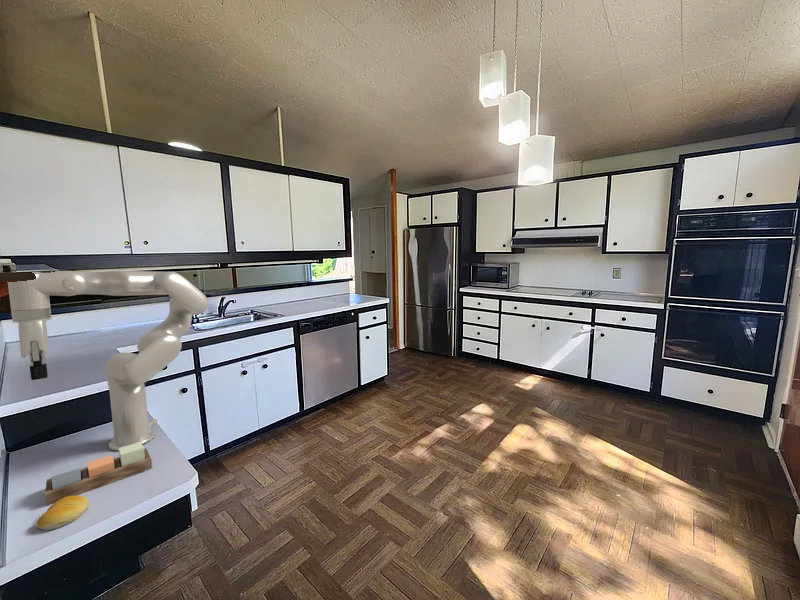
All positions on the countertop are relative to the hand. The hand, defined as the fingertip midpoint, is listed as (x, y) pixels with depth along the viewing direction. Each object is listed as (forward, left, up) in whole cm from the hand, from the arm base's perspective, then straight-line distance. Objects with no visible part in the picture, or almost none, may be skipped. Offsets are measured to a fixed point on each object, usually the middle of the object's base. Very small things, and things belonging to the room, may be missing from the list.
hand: (39, 378), depth 96 cm
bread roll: (+18, +22, -30) cm, 41 cm away
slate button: (+8, +13, -27) cm, 31 cm away
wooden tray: (+3, +18, -29) cm, 34 cm away
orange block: (+3, +18, -28) cm, 33 cm away
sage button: (-2, +23, -27) cm, 35 cm away
